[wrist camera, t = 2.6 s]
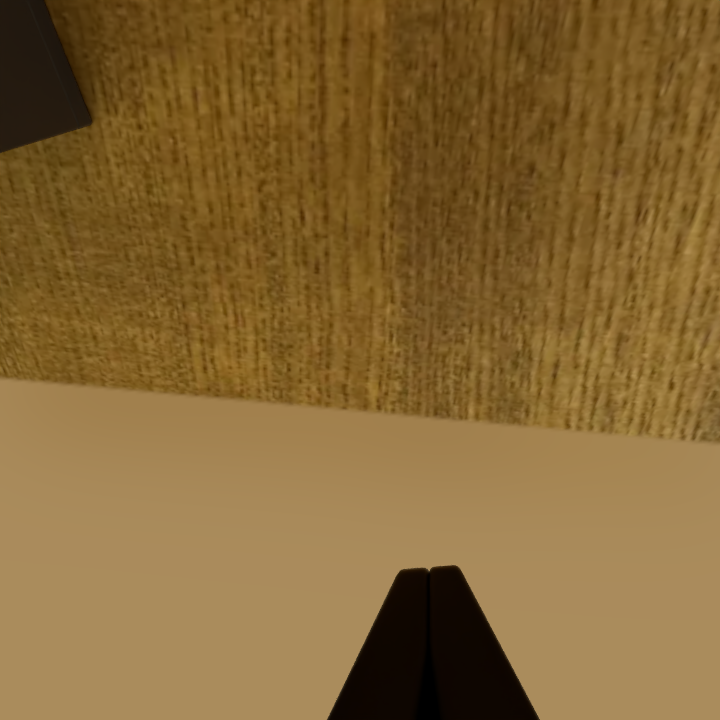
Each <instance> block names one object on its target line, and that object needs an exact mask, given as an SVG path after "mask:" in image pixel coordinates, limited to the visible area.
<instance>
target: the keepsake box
mask: <svg viewBox="0 0 720 720" xmlns="http://www.w3.org/2000/svg"><path fill="white" fill-rule="evenodd" d="M91 124H92V121H91V119H90V116H89V114H88V111H87V109H86V106H85V104H84V101H83V99H82V96H81V94H80V91H79V89H78V86H77V84H76V81H75V79H74V76H73V74H72V71H71V69H70V66H69V64H68V61H67V59H66V56H65V54H64V51H63V49H62V46H61V44H60V41H59V38H58V36H57V33H56V31H55V28H54V26H53V23H52V21H51V18H50V16H49V13H48V11H47V8H46V6H45V3H44V1H43V0H0V153H2V152H5V151H8V150H11V149H15V148H18V147H21V146H24V145H28V144H31V143H34V142H37V141H41V140H44V139H47V138H50V137H54V136H57V135H60V134H63V133H67V132H70V131H73V130H76V129H79V128H83V127H86V126H89V125H91Z"/></svg>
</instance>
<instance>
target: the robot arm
mask: <svg viewBox="0 0 720 720" xmlns="http://www.w3.org/2000/svg"><path fill="white" fill-rule="evenodd" d="M327 720H540V719H539V717H538V715H537V714H536V712H535V710H534V708H533V706H532V704H531V702H530V700H529V698H528V697H527V695H526V693H525V691H524V689H523V687H522V685H521V683H520V681H519V679H518V678H517V676H516V674H515V672H514V670H513V668H512V666H511V664H510V662H509V660H508V659H507V657H506V655H505V653H504V651H503V649H502V647H501V645H500V643H499V642H498V640H497V638H496V636H495V634H494V632H493V630H492V628H491V627H490V624H489V623H488V621H487V619H486V617H485V615H484V613H483V611H482V609H481V607H480V606H479V604H478V602H477V600H476V598H475V596H474V594H473V592H472V591H471V589H470V587H469V585H468V583H467V581H466V579H465V577H464V575H463V573H462V571H461V570H460V568H459V567H458V566H455V565H452V566H438V567H432V568H431V569H430V571H428V569H426V568H413V569H403V570H401V571H400V572H399V573H398V574H397V576H396V578H395V580H394V582H393V584H392V586H391V588H390V590H389V592H388V595H387V597H386V599H385V601H384V603H383V605H382V607H381V609H380V611H379V613H378V615H377V618H376V619H375V621H374V624H373V626H372V628H371V630H370V632H369V634H368V636H367V638H366V640H365V643H364V644H363V646H362V648H361V651H360V653H359V655H358V657H357V659H356V661H355V663H354V665H353V667H352V669H351V671H350V673H349V675H348V678H347V680H346V682H345V684H344V686H343V688H342V690H341V692H340V694H339V696H338V698H337V700H336V702H335V705H334V707H333V709H332V711H331V713H330V715H329V717H328V719H327Z"/></svg>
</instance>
